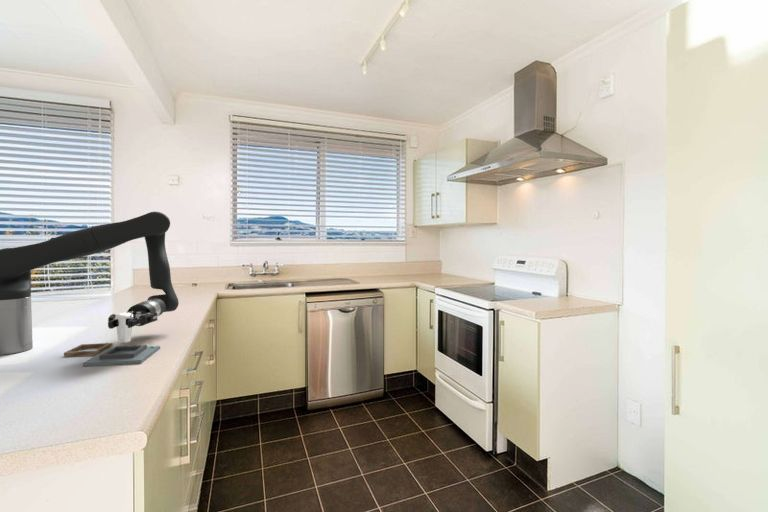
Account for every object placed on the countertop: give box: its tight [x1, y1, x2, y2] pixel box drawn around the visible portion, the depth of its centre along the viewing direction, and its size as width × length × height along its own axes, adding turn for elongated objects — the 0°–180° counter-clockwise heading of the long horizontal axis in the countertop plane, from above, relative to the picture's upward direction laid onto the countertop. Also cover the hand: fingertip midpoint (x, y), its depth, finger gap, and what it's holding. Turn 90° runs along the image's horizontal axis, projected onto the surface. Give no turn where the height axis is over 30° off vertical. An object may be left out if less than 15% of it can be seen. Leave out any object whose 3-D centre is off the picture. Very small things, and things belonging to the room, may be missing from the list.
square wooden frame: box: [63, 342, 113, 358], centre depth 114 cm, size 9×9×1 cm
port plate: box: [82, 344, 161, 368], centre depth 109 cm, size 15×14×2 cm
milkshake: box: [115, 311, 133, 344], centre depth 109 cm, size 4×5×10 cm
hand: (119, 324), depth 106 cm, fingers closed on milkshake, 4 cm apart
